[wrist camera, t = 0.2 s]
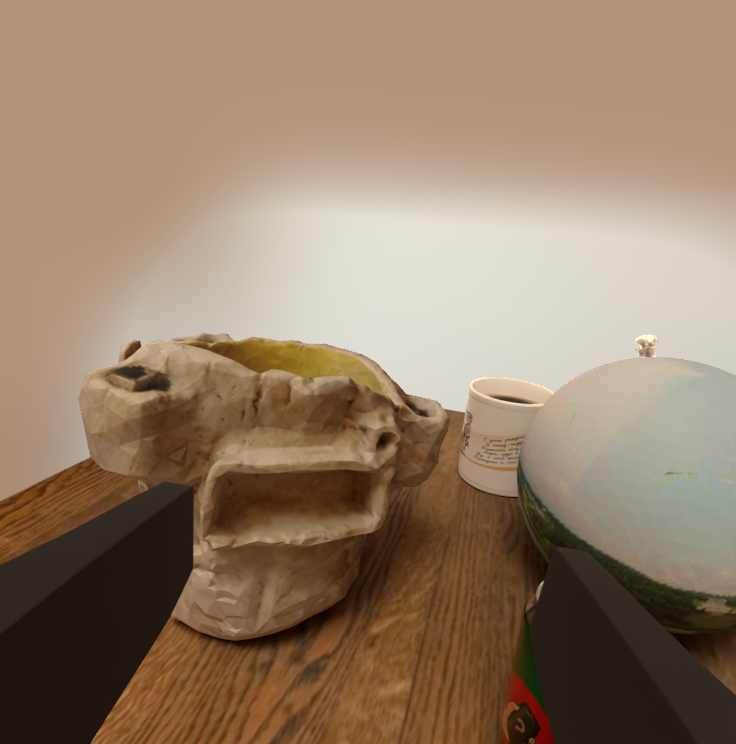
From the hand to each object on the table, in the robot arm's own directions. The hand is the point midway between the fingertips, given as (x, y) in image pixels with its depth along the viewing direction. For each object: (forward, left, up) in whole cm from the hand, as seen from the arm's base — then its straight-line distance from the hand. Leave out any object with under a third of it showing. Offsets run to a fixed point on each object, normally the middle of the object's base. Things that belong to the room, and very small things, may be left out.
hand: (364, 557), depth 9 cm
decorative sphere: (+28, -19, -22) cm, 40 cm away
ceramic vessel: (+24, +9, -21) cm, 33 cm away
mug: (+47, -11, -21) cm, 53 cm away
